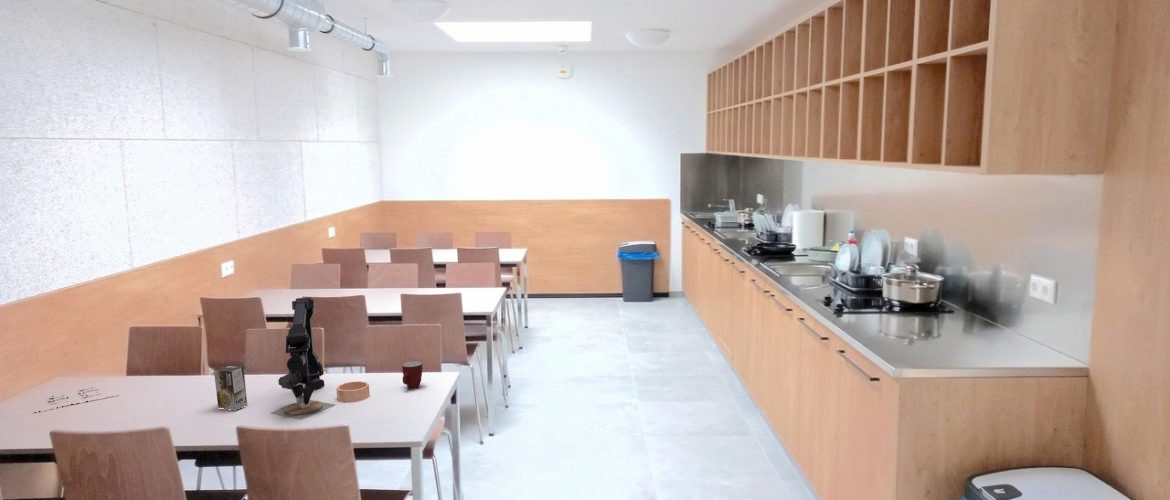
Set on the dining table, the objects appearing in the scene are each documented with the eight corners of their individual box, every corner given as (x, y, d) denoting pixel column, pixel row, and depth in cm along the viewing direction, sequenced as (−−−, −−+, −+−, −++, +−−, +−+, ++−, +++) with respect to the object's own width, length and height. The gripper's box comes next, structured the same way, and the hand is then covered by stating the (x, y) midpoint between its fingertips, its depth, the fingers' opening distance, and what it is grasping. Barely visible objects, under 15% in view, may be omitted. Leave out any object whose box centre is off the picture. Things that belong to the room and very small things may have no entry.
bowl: (331, 402, 294) (330, 388, 294) (353, 392, 305) (352, 379, 304) (353, 406, 289) (352, 392, 288) (375, 396, 299) (374, 383, 299)
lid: (275, 412, 282) (274, 400, 281) (304, 400, 294) (303, 389, 293) (302, 417, 275) (301, 405, 275) (330, 405, 288) (329, 393, 287)
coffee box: (248, 406, 293) (244, 366, 291) (235, 411, 287) (231, 371, 285) (230, 404, 296) (226, 364, 294) (217, 409, 290) (213, 369, 288)
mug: (415, 392, 303) (413, 369, 301) (397, 391, 304) (395, 368, 303) (426, 384, 313) (425, 361, 311) (409, 383, 315) (407, 361, 313)
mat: (269, 415, 281) (269, 413, 281) (305, 401, 296) (305, 399, 296) (302, 422, 273) (301, 419, 273) (336, 407, 288) (336, 404, 288)
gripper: (264, 367, 279) (268, 407, 282) (300, 373, 271) (304, 414, 273) (288, 359, 289) (292, 398, 291) (323, 364, 281) (327, 404, 283)
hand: (303, 403), depth 284 cm, fingers closed on lid, 3 cm apart
